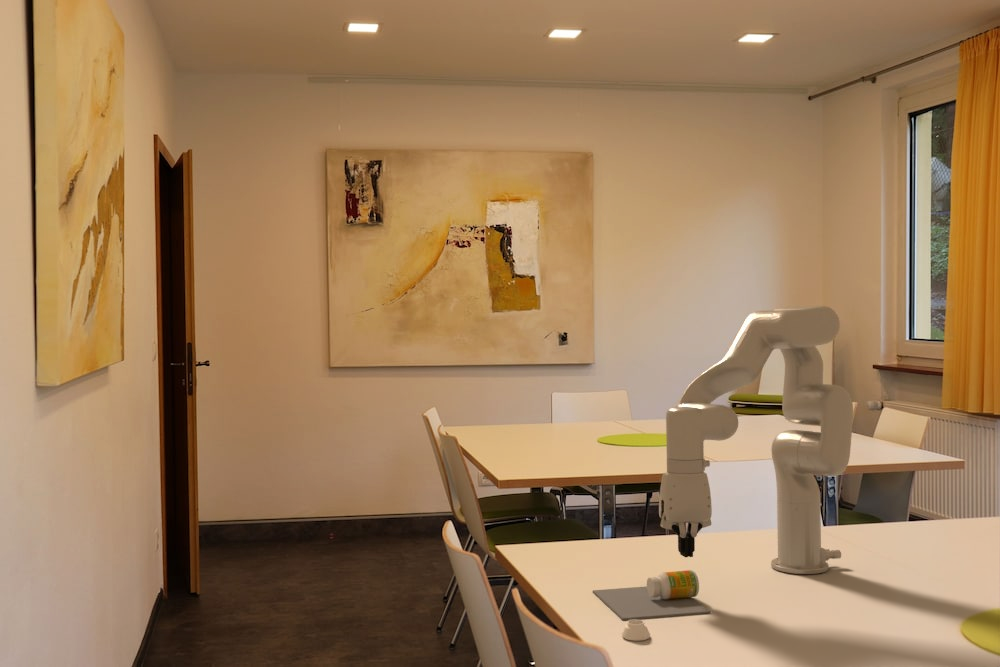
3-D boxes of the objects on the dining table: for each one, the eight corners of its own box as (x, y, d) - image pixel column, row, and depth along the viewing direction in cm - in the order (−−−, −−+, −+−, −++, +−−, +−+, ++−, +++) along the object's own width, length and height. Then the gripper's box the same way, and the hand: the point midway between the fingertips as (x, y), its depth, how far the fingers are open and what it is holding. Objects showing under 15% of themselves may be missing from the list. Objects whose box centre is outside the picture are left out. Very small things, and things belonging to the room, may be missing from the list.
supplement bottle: (702, 584, 193) (657, 589, 191) (695, 602, 196) (651, 606, 194) (692, 564, 197) (648, 568, 195) (686, 581, 200) (643, 585, 198)
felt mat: (672, 586, 206) (672, 584, 206) (710, 613, 186) (710, 611, 186) (592, 592, 202) (592, 590, 202) (622, 620, 183) (622, 618, 183)
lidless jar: (652, 642, 170) (647, 633, 175) (652, 625, 170) (646, 617, 175) (624, 643, 170) (620, 634, 175) (624, 626, 170) (619, 618, 175)
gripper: (711, 462, 202) (712, 549, 202) (644, 465, 199) (645, 553, 199) (726, 467, 194) (728, 557, 195) (657, 471, 192) (658, 562, 192)
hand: (686, 555), depth 197 cm, fingers closed
